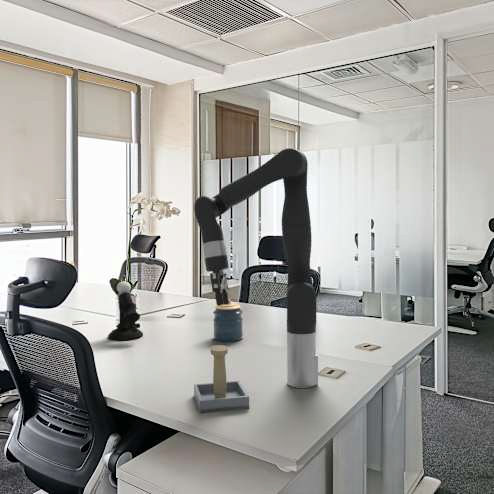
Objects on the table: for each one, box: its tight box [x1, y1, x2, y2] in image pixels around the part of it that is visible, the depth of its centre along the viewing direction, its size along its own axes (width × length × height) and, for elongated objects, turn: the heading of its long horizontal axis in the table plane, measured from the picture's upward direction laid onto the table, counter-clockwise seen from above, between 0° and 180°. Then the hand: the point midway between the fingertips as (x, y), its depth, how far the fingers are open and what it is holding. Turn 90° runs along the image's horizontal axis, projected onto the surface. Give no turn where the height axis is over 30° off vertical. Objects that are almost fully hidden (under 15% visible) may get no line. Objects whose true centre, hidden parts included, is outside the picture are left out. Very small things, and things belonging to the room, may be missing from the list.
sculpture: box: [107, 280, 144, 342], centre depth 224 cm, size 15×24×25 cm, turn 28°
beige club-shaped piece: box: [210, 344, 229, 399], centre depth 149 cm, size 5×6×15 cm
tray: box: [193, 380, 250, 414], centre depth 149 cm, size 14×14×4 cm
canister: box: [212, 298, 244, 343], centre depth 223 cm, size 13×13×18 cm
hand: (223, 304), depth 166 cm, fingers open, 8 cm apart
